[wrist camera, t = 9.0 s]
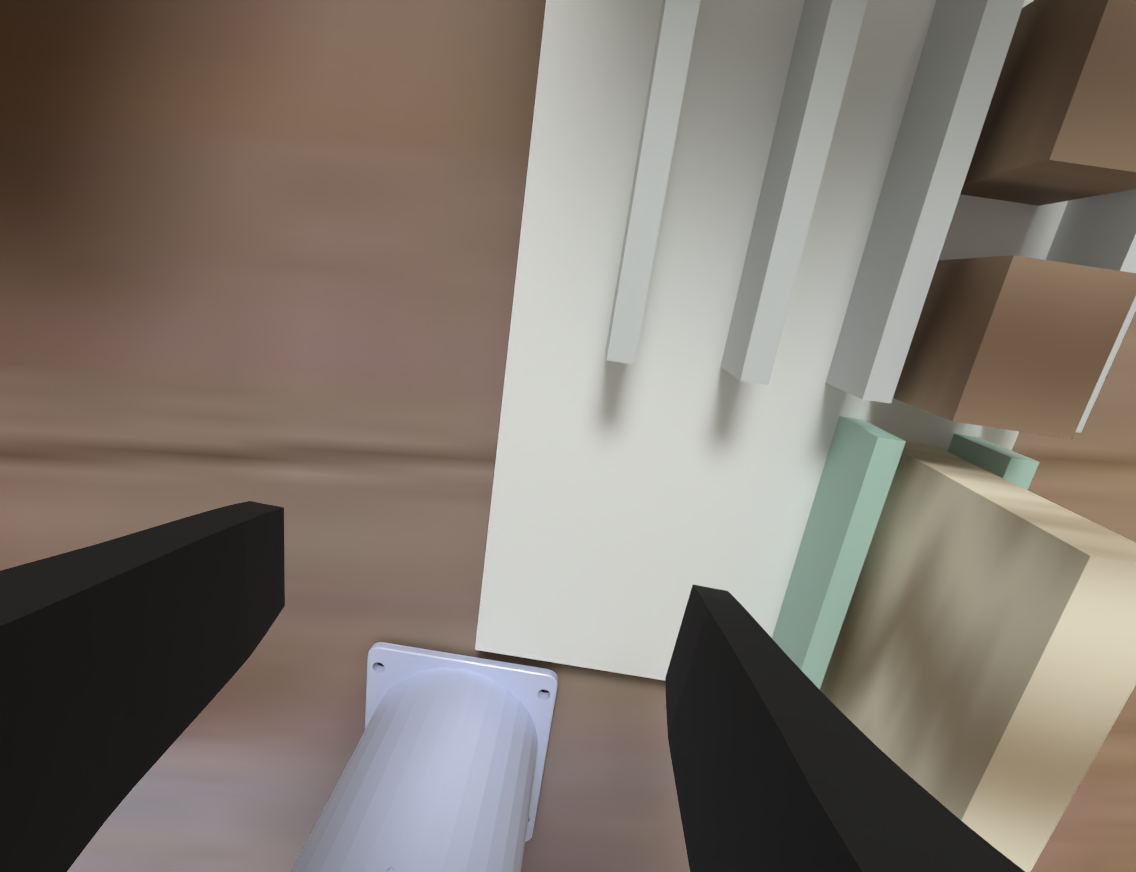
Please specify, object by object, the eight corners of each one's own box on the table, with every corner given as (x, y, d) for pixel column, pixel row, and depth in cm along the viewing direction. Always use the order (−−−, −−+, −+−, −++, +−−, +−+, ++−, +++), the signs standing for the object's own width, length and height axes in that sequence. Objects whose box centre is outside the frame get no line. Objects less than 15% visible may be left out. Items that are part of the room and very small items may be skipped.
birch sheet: (845, 687, 20) (995, 934, 13) (794, 679, 20) (911, 920, 13) (934, 445, 17) (1198, 573, 10) (874, 436, 17) (1090, 556, 10)
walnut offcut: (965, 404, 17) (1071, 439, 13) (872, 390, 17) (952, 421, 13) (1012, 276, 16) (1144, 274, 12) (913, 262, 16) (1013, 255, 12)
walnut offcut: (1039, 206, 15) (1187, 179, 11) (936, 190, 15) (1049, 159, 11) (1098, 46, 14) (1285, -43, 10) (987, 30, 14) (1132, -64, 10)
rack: (887, 699, 21) (940, 776, 18) (480, 633, 22) (458, 697, 18) (1161, 9, 15) (1329, -73, 11) (559, -74, 15) (548, -179, 11)
